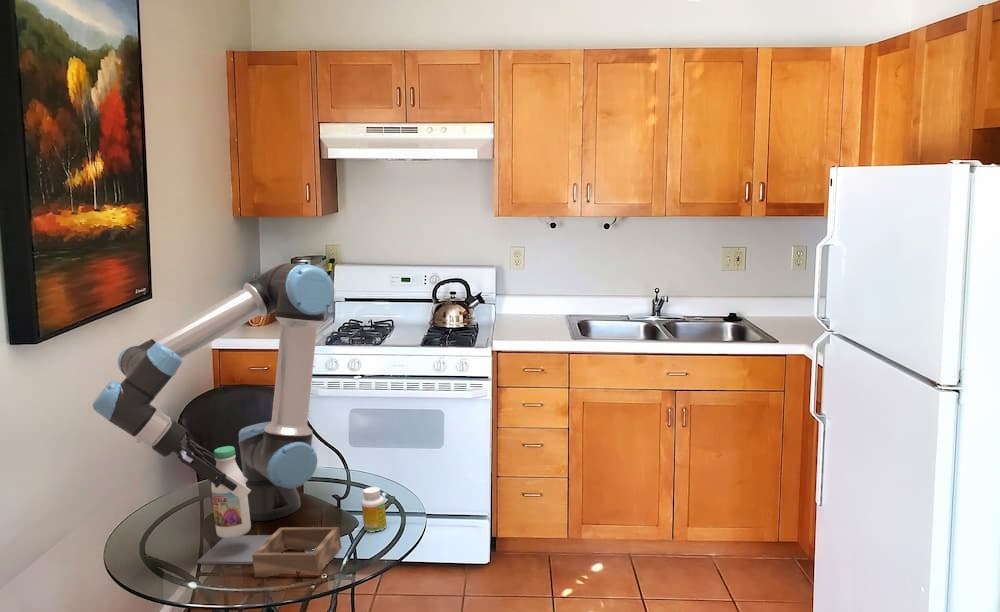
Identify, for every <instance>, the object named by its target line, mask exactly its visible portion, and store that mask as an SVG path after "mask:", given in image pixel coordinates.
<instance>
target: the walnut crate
mask: <svg viewBox="0 0 1000 612" xmlns="http://www.w3.org/2000/svg"><path fill="white" fill-rule="evenodd" d="M340 532H341V531H340V527H339V526H337V527H336V526H328V527H327V526H326V527H325V526H322V527H321V526H319V527H318V526H317V527H315V526H310V527H309V526H307V527H306V526H305V527H303V526H301V527H298V526H297V527H279V528H278V529H277V530H276V531H275V532H274V533H273V534H271V535H272V536H271V537H270V538H269V539H268V540H267V541H266V542H265V543H264V544H263V545H262V546H261V547H260V548H259V549H258V550H257V551H256V552H255V553H254V554H253V555H252V557H253V564H252V565H253V572H254V578H269V577H268V576H274V575H278V574H281V573H289V572H296V571H297V572H299V571H301V572H305V573H319V572H320V570H321V569H323V568H324V567H325V565H326V564H328V563H329V561H331V560H332V561H333V559H334V558H335V556H336V555H337V554H338V553H339V551H340V550H341V549H342V540H341V533H340ZM288 547H293V548H296V549H299V550H298V551H313V552H283V553H281V552H282V550H283V549H284V548H288ZM315 548H316V549H315ZM312 549H315V550H312ZM332 561H331V562H332ZM329 564H330V563H329ZM329 564H328V565H329Z"/></svg>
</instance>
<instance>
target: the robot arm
mask: <svg viewBox="0 0 1000 612" xmlns="http://www.w3.org/2000/svg"><path fill="white" fill-rule="evenodd" d="M334 299H335V285H334V281H333V280H332V277H330V275H329V274H328V273H327V272H326V271H325V270H324V269H322V268H320V267H318V266H316V265H311V264H303V263H301V264H299V263H298V264H297V263H288V262H287V263H282V264H278V265H276V266H274V267H271V268H270V269H269V270H267V271H265V272H263V273H261V274H259V275H258V276H256V277H254V278H252V279H251V280H249V281H247V282H245V283H244V285H243V288H242V289H241V290H239V291H237V292H235V293H234V294H232V295H230V296H228V297H226V298H224V299H222V300H221V301H219V302H217V303H215V304H213V305H212V306H210V307H208V308H206V309H204V310H202V311H201V312H199V313H197V314H195V315H193V316H191V317H189V318H188V319H186V320H184V321H182V322H180V323H178V324H176V325H175V326H173V327H171V328H169V329H167V330H164V331H163V332H161V333H160V334H158V335H156V336H155V337H152V338H151V339H148V340H146V341H144V342H143V343H141V344H139V345H131V346H128V347H126V348H124V349H123V350H122V351H121V353H120V354H119V356H118V359H117V366H118V369H119V370H120V373H122V375H124V376H125V378H124V380H122V381H121V382H120V381H119V382H118V381H116V380H111V381H110V382H108V384H107V385H106V386H105V387H104V388H103V389H102V390H101V392H100V393H99V394H98V395H97V396H96V398H95V400H94V401H93V402H92V408H93V410H94V411H95V412H96V413H98V414H99V415H100V416H102V417H103V418H104V419H105V420H107V421H109V422H110V423H111V424H113V425H114V426H116V427H117V428H119V429H121V430H123V431H125V432H126V433H127V434H129V435H130V436H133V437H134V438H135V439H136V440H135V441H136V443H141V442H142V443H143V444H144V445H146V446H147V447H150V446H151V448H152V450H153V451H154V452H156V453H157V454H159V455H161V456H162V457H165V458H166V457H168V456H169V455H171V453H173V452H174V453H175V454H176V455H177V458H178V459H179V460H180V462H181V463H183V464H184V465H186V466H187V467H190V468H191V469H192V470H194V471H195V472H196V473H198V474H199V475H201V476H202V477H203V478H205V479H206V480H207V481H209V482H211V483H213V484H214V485H215V487H216V488H218V486H219V485H220V486H222V487H223V488H225V489H226V490H228V491H229V492H231V493H232V494H234V495H236V496H237V497H239V498H240V499H242V500H244V499H245V497H246V496H248V504H249V513H250V521H251V520H252V521H251V522H264V521H266V520H267V521H271V520H272V519H273V520H275V519H274V518H278V519H281V518H280V517H282V518H285V517H287V516H290V515H292V514H293V513H295V512H297V511H298V510H299V509H300V508H301V505H302V502H301V497H300V495H299V492H298V490H297V488H298V487H301V486H303V485H304V484H306V483H307V482H308V481H309V480H310V479H311V478H312V477H313V475H314V474H315V472H316V469H317V467H318V456H317V453H316V451H315V449H314V447H313V446H312V443H313V442H312V440H313V430H312V429H311V427H309V424H308V419H309V417H308V416H309V411H310V409H309V408H310V400H311V389H312V382H313V381H312V379H313V369H314V360H315V359H314V358H315V351H316V350H315V348H316V339H317V332H318V331H317V329H318V327H321V325H322V324H323V323H324V322H325V314H326V311H327V310H328V309H329V308H330V307H331V305H332V304H333V301H334ZM274 312H275V319H276V320H277V321H278V322H279V324H280V333H279V342H278V343H279V344H278V355H277V363H276V374H275V382H274V392H273V393H274V394H273V402H272V414H271V421H265V422H259V423H255V424H250V425H247V426H245V427H243V428H241V429H240V430H239V431H238V444H239V451H240V459H241V467H242V474H243V476H244V478H245V482H246V486H244V485H243V484H241V483H240V482H238V481H237V480H235V479H234V478H232V477H231V476H229V475H228V474H227V475H226V474H224V473H223V472H221V471H220V470H219V469H218V468H216V460H215V457H214V453H213V452H211V451H209V450H207V449H206V448H204V447H203V446H201V445H199V444H198V443H197V442H195V441H194V440H193V439H191V437H188V436H186V437H185V435H186V433H187V428H185V427H184V426H183V425H182V424H179V422H177V421H175V420H171V417H170V416H168V415H167V414H166V413H164V412H163V411H161V410H159V409H158V408H157V407H155V406H154V405H152V404H151V403H152V402H153V401H154V400H155V398H156V397H157V396H158V395H159V393H160V392H161V391H162V390H163V389H164V387H165V386H166V385H167V384H168V382H169V381H171V379H172V378H173V377H174V376H175V375H176V373H177V372H178V370H179V368H180V367H181V365H182V364H183V360H182V359H183V358H185V357H187V356H188V355H190V354H192V353H194V352H195V351H196V352H197V351H198V350H199V349H201V348H202V347H205V346H206V345H208V344H210V343H212V342H214V341H216V340H217V339H219V338H221V337H222V336H224V335H226V334H227V333H230V332H231V331H233V330H235V329H237V328H239V327H241V326H243V325H244V324H246V323H248V322H249V321H251V320H252V319H255V318H256V317H263V318H264V317H266V316H268V315H270V314H272V313H274ZM184 437H185V438H184ZM216 478H217V479H216ZM289 514H290V515H289ZM284 516H285V517H284ZM267 521H266V522H267Z"/></svg>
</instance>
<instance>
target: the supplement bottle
mask: <svg viewBox="0 0 1000 612" xmlns="http://www.w3.org/2000/svg"><path fill="white" fill-rule="evenodd" d="M361 510H362V512H361V513H362V518H363V519H362V520H363V522H362V523H363V529H364V531H365V530H367V531H369V532H368V533H376V532H375V531H379V530H382V529H384V528H385V529H386V528H387V515H386V506H385V499H384V497H383V496H382V495H381V487H380V488H379V487H378V486H377V487H376V486H369V487H367V488H364V489H363V499H362V500H361ZM385 529H384V530H385ZM367 531H366V532H367ZM371 531H372V532H371ZM382 531H383V530H382ZM379 532H380V531H379Z"/></svg>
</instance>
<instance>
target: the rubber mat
mask: <svg viewBox="0 0 1000 612" xmlns="http://www.w3.org/2000/svg"><path fill="white" fill-rule="evenodd" d="M272 535H273V534H262V535H261V534H257V535H256V534H255V535H254V534H251V535H250V534H248V535H247V534H243V535H241V536H237V537H233V538H222V539H221V538H220V540H219V541H218V542H216V544H215V545H214V546H213V547H211V548H210V550H208V551H207V552H206V553H205V554H203V556H201V557H200V558H199V559H198V560H196V564H197V563H199V564H198V565H253V557H252V555H253V554H254V553H255V552H256V551H257V550H258V549H259V548H260V547H261V546H262V545H263V544H264V543H265V542H266V541H267V540H268V539H269V538H270V537H271V536H272Z"/></svg>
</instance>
